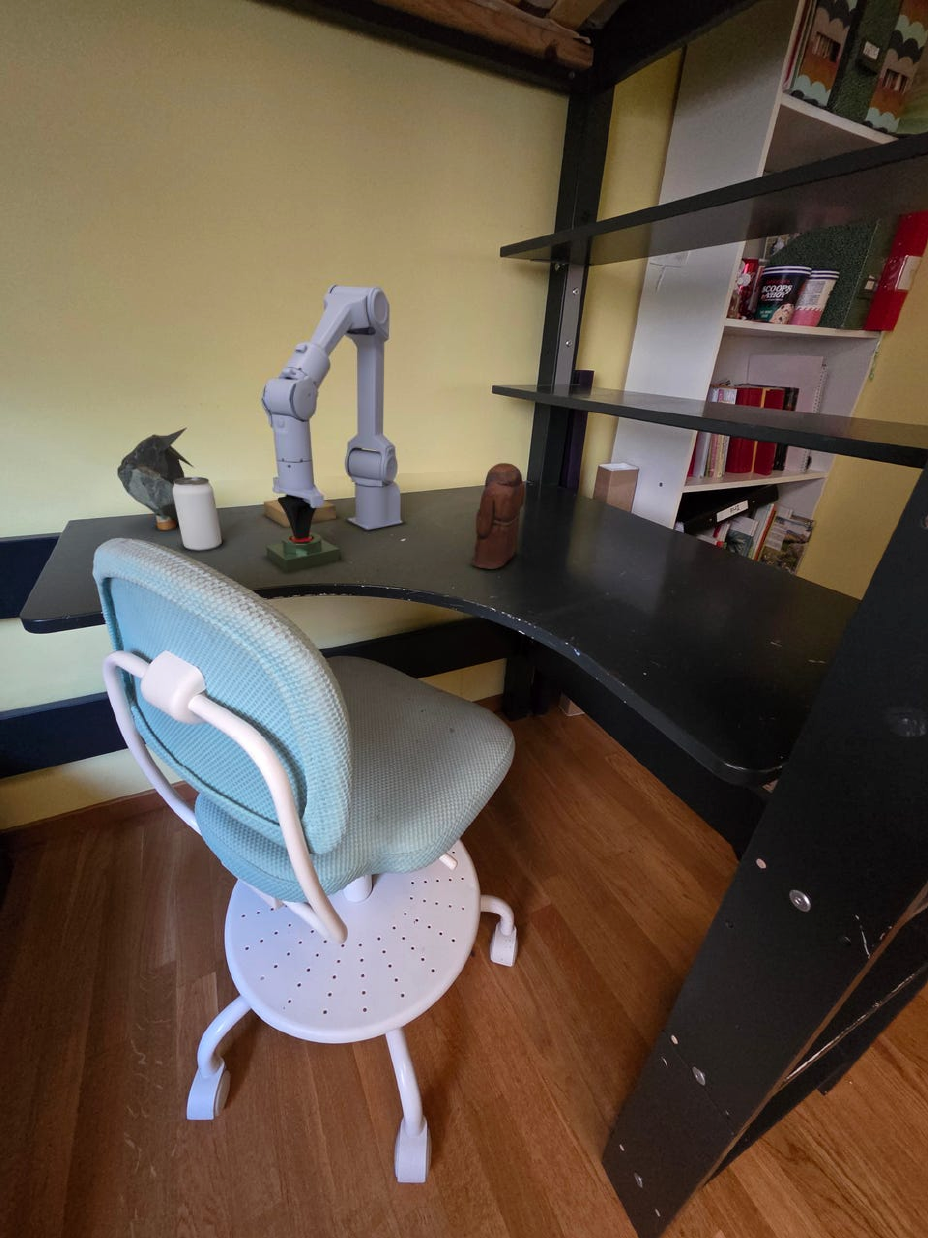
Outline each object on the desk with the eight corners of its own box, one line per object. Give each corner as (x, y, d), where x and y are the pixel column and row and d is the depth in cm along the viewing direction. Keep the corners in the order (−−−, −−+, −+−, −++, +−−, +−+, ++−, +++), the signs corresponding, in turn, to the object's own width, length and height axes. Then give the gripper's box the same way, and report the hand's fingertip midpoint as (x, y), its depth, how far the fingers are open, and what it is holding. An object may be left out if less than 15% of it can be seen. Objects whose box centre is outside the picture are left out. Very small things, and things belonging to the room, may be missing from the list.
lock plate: (314, 507, 121) (313, 493, 119) (336, 518, 114) (335, 504, 113) (265, 514, 113) (263, 500, 112) (285, 527, 107) (283, 512, 106)
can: (207, 553, 92) (195, 486, 86) (175, 548, 93) (161, 482, 87) (229, 541, 98) (219, 478, 92) (199, 537, 99) (187, 474, 93)
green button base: (318, 547, 98) (316, 526, 96) (339, 560, 93) (338, 539, 91) (267, 557, 92) (264, 536, 90) (287, 572, 87) (285, 550, 85)
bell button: (307, 541, 94) (306, 532, 93) (316, 547, 91) (315, 538, 91) (288, 545, 91) (287, 536, 91) (297, 551, 89) (296, 542, 88)
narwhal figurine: (110, 527, 100) (84, 431, 92) (174, 508, 113) (156, 422, 105) (166, 540, 96) (144, 440, 88) (226, 519, 109) (212, 430, 101)
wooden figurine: (490, 547, 104) (498, 456, 95) (519, 554, 101) (531, 461, 93) (466, 566, 94) (473, 467, 86) (498, 574, 92) (509, 472, 83)
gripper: (252, 452, 86) (262, 530, 93) (291, 470, 77) (299, 554, 84) (291, 449, 91) (298, 523, 97) (333, 465, 82) (338, 546, 88)
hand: (301, 537), depth 91 cm, fingers closed, pressing on bell button
